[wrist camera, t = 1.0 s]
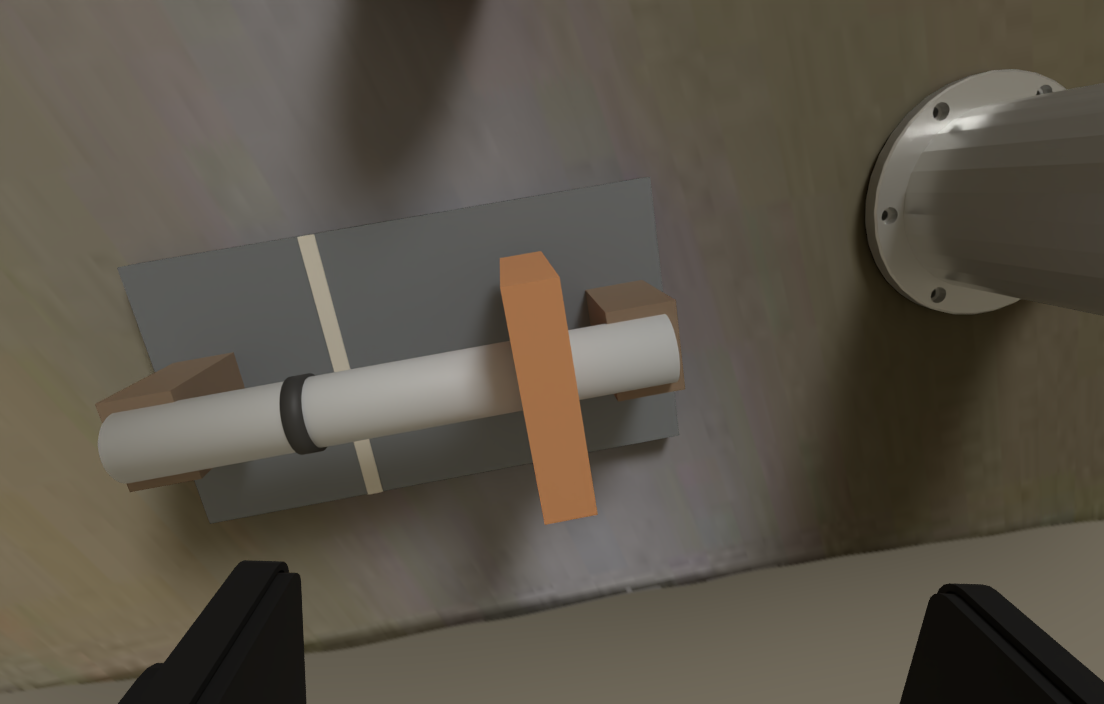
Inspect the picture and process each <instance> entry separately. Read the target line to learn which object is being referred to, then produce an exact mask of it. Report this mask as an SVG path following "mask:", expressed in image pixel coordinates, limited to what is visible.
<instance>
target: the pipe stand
mask: <svg viewBox="0 0 1104 704" xmlns="http://www.w3.org/2000/svg"><path fill="white" fill-rule="evenodd" d="M538 251H541V252H542V253H543V254H544V256H545V257H546V259H547V260H548V261H549V263H550V264H551V266H552V267H553V268H554V270H555V271H556V273H557V274H558V275H559V277H560V282H561V289H562V295H563V301H564V307H565V314H566V320H567V326H568V332H569V339H570V345H571V351H572V357H573V364H574V370H575V376H576V382H577V389H578V395H579V401H580V407H581V414H582V420H583V426H584V432H585V439H586V445H587V451H588V452H593V451H598V450H604V449H609V448H614V447H620V446H625V445H630V444H635V443H641V442H646V441H651V440H657V439H662V438H667V437H673V436H678V435H679V429H678V420H677V411H676V402H675V393H674V391H678V390H684V389H685V383H684V373H683V364H682V355H681V346H680V336H679V327H678V318H677V308H676V300H674V299H673V298H671V297H670V296H668V295H666V294H665V293H663V287H662V279H661V270H660V261H659V252H658V243H657V234H656V225H655V217H654V208H653V199H652V190H651V181H650V177H644V178H638V179H632V180H626V181H620V182H614V183H609V184H603V185H597V186H591V187H585V188H579V189H573V190H567V191H561V192H556V193H550V194H544V195H538V196H532V197H526V198H520V199H514V200H509V201H503V202H497V203H491V204H485V205H479V206H473V207H467V208H462V209H456V210H450V211H444V212H438V213H432V214H426V215H420V216H415V217H409V218H403V219H397V220H391V221H385V222H379V223H373V224H368V225H362V226H356V227H350V228H344V229H338V230H332V231H326V232H321V233H315V234H309V235H303V236H297V237H291V238H285V239H279V240H273V241H268V242H262V243H256V244H250V245H244V246H238V247H232V248H226V249H221V250H215V251H209V252H203V253H197V254H191V255H185V256H179V257H174V258H168V259H162V260H156V261H150V262H144V263H138V264H133V265H128V266H123V267H118V268H117V269H118V271H119V274H120V277H121V280H122V282H123V285H124V288H125V291H126V293H127V296H128V299H129V302H130V305H131V307H132V310H133V313H134V316H135V318H136V321H137V324H138V327H139V329H140V332H141V335H142V338H143V340H144V343H145V346H146V349H147V351H148V354H149V357H150V360H151V362H152V365H153V368H154V371H155V373H153V374H151V375H149V376H148V377H146V378H144V379H142V380H140V381H138V382H136V383H134V384H132V385H130V386H129V387H127V388H125V389H123V390H121V391H119V392H117V393H115V394H113V395H111V396H110V397H108V398H106V399H104V400H102V401H100V402H98V403H96V404H95V406H96V408H97V411H98V413H99V416H100V418H101V421H102V423H103V424H102V426H101V429H100V432H99V437H98V450H99V455H100V459H101V462H102V464H103V466H104V468H105V470H106V471H107V473H108V474H109V475H110V476H111V477H112V478H113V479H114V480H116V481H118V482H120V483H126V484H127V486H128V489H129V491H130V492H133V491H139V490H144V489H150V488H155V487H160V486H166V485H171V484H176V483H182V482H187V481H193V480H194V481H195V484H196V487H197V489H198V492H199V495H200V498H201V500H202V503H203V506H204V509H205V511H206V514H207V517H208V520H209V522H210V524H211V523H216V522H222V521H227V520H232V519H238V518H243V517H248V516H253V515H259V514H264V513H269V512H275V511H280V510H285V509H291V508H296V507H301V506H307V505H312V504H317V503H322V502H328V501H333V500H338V499H344V498H349V497H354V496H360V495H365V494H368V495H369V494H375V493H380V492H383V491H386V490H391V489H397V488H402V487H407V486H413V485H418V484H423V483H429V482H434V481H439V480H444V479H450V478H455V477H460V476H466V475H471V474H476V473H482V472H487V471H492V470H498V469H503V468H508V467H513V466H519V465H524V464H529V463H533V459H532V454H531V449H530V443H529V438H528V433H527V427H526V422H525V417H524V411H523V406H522V401H521V396H520V390H519V385H518V380H517V374H516V369H515V364H514V358H513V353H512V348H511V342H510V337H509V332H508V327H507V321H506V316H505V311H504V305H503V300H502V295H501V289H500V258H504V257H509V256H515V255H521V254H527V253H532V252H538Z"/></svg>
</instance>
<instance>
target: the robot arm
mask: <svg viewBox="0 0 1104 704" xmlns="http://www.w3.org/2000/svg"><path fill="white" fill-rule="evenodd" d="M882 213H883V216H882ZM865 225H866V232H867V238H868V244H869V247H870V250H871V252H872V255H873V258H874V260H875V263H876V265H877V267H878V268H879V270H880V271H881V273H882V274H883V276H884V278H885V279H886V281H887V282H888V283H889V284H890V285H891V286H892V287H894V288H895V289H896V290H897V291H898V292H899V293H900V294H901V295H903V296H904V297H906V298H907V299H909V300H911V301H912V302H914V303H916V304H918V305H921V306H924V307H927V308H930V309H933V310H937V311H941V312H946V313H950V314H979V313H984V312H990V311H995V310H997V309H1000V308H1003V307H1005V306H1008V305H1011V304H1013V303H1015V302H1017V301H1019V300H1020V299H1024V300H1029V301H1034V302H1039V303H1044V304H1048V305H1053V306H1058V307H1063V308H1068V309H1073V310H1077V311H1082V312H1087V313H1092V314H1097V315H1102V316H1104V83H1102V84H1096V85H1091V86H1085V87H1079V88H1074V89H1068V90H1067V89H1065V88H1064V87H1063V86H1062V85H1060V84H1059V83H1058V82H1056V81H1054V80H1052V79H1050V78H1047V77H1045V76H1043V75H1040V74H1038V73H1035V72H1029V71H1023V70H1017V69H1010V70H993V71H988V72H984V73H980V74H976V75H971V76H968V77H965V78H963V79H960V80H957V81H955V82H952V83H949V84H947V85H945V86H944V87H942V88H940V89H939V90H937V91H936V92H934V93H932V94H931V95H929V96H927V97H926V98H925V99H924V100H923V101H921V102H920V103H919V104H918V105H917V106H916V107H915V108H913V109H912V110H911V111H910V112H909V113H908V114H907V115H906V116H905V117H904V119H903V120H902V121H901V122H900V124H899V125H898V126H897V127H896V128H895V130H894V131H893V132H892V133H891V135H890V137H889V139H888V140H887V142H886V144H885V145H884V147H883V149H882V151H881V152H880V154H879V156H878V159H877V162H876V164H875V167H874V170H873V172H872V175H871V177H870V182H869V187H868V192H867V197H866V212H865ZM305 686H306V685H305V662H304V639H303V616H302V593H301V579H300V575H299V574H298V573H289V570H288V566H287V564H286V563H285V562H277V561H246V560H244V561H242V562H240V563H239V564H238V565H237V566H236V567H235V568H234V570H233V571H232V572H231V574H230V575H229V576H228V578H227V579H226V580H225V582H224V583H223V585H222V586H221V587H220V589H219V590H218V591H217V593H216V594H215V595H214V597H213V598H212V599H211V601H210V602H209V603H208V605H207V606H206V607H205V609H204V610H203V611H202V613H201V614H200V615H199V617H198V618H197V619H196V621H195V622H194V623H193V625H192V626H191V627H190V629H189V630H188V631H187V633H186V634H185V635H184V637H183V638H182V639H181V641H180V642H179V643H178V645H177V646H176V647H175V649H174V650H173V651H172V653H171V654H170V655H169V657H168V658H167V659H166V661H165V662H164V663H156V664H154V665H152V666H150V667H149V668H147V669H146V670H145V671H144V672H143V673H142V674H141V675H140V676H139V677H138V679H137V680H136V681H135V682H134V684H133V685H132V686H131V688H130V689H129V690H128V691H127V693H126V694H125V695H124V697H123V698H122V699H121V700H120V702H119V703H118V704H306V687H305ZM900 704H1104V682H1103V681H1102V680H1101V679H1100V678H1098V677H1097V676H1096V675H1095V674H1094V673H1093V672H1091V671H1090V670H1089V669H1088V668H1087V667H1086V666H1084V665H1083V664H1082V663H1081V662H1080V661H1079V660H1077V659H1076V658H1075V657H1074V656H1073V655H1071V654H1070V653H1069V652H1068V651H1067V650H1066V649H1064V648H1063V647H1062V646H1061V645H1060V644H1058V643H1057V642H1056V641H1055V640H1054V639H1053V638H1051V637H1050V636H1049V635H1048V634H1047V633H1046V632H1044V631H1043V630H1042V629H1041V628H1040V627H1039V626H1037V625H1036V624H1035V623H1034V622H1033V621H1032V620H1030V619H1029V618H1028V617H1027V616H1026V615H1024V614H1023V613H1022V612H1021V611H1020V610H1019V609H1017V608H1016V607H1015V606H1014V605H1013V604H1012V603H1010V602H1009V601H1008V600H1007V599H1005V597H1003V596H1002V595H1001V594H1000V593H999V592H997V591H996V590H995V589H993V588H992V587H990V586H986V585H978V584H946V585H943V586H942V587H941V588H940V589H939V591H938V593H937V594H934V595H933V596H932V597H931V598H930V600H929V602H928V606H927V609H926V613H925V616H924V620H923V623H922V627H921V630H920V634H919V638H918V641H917V645H916V648H915V652H914V655H913V659H912V663H911V666H910V669H909V673H908V676H907V680H906V683H905V687H904V690H903V694H902V697H901V701H900Z"/></svg>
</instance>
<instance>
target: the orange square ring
mask: <svg viewBox="0 0 1104 704" xmlns="http://www.w3.org/2000/svg"><path fill="white" fill-rule="evenodd" d="M500 289H501V295H502V300H503V305H504V311H505V316H506V321H507V327H508V332H509V337H510V342H511V348H512V353H513V358H514V364H515V369H516V374H517V380H518V385H519V390H520V396H521V401H522V406H523V411H524V417H525V422H526V427H527V433H528V438H529V443H530V449H531V454H532V459H533V465H534V470H535V475H536V481H537V486H538V491H539V496H540V502H541V507H542V512H543V518H544V523H545V525H546V524H551V523H556V522H562V521H567V520H572V519H577V518H582V517H588V516H593V515H598V514H597V507H596V501H595V495H594V489H593V482H592V476H591V470H590V464H589V457H588V451H587V445H586V439H585V432H584V426H583V420H582V414H581V407H580V401H579V395H578V389H577V382H576V376H575V370H574V364H573V357H572V351H571V345H570V339H569V332H568V326H567V320H566V314H565V307H564V301H563V295H562V289H561V282H560V277H559V275H558V274H557V273H556V271H555V270H554V268H553V267H552V266H551V264H550V263H549V261H548V260H547V259H546V257H545V256H544V254H543V253H542V252H541V251H538V252H532V253H527V254H521V255H515V256H509V257H504V258H500Z"/></svg>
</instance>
